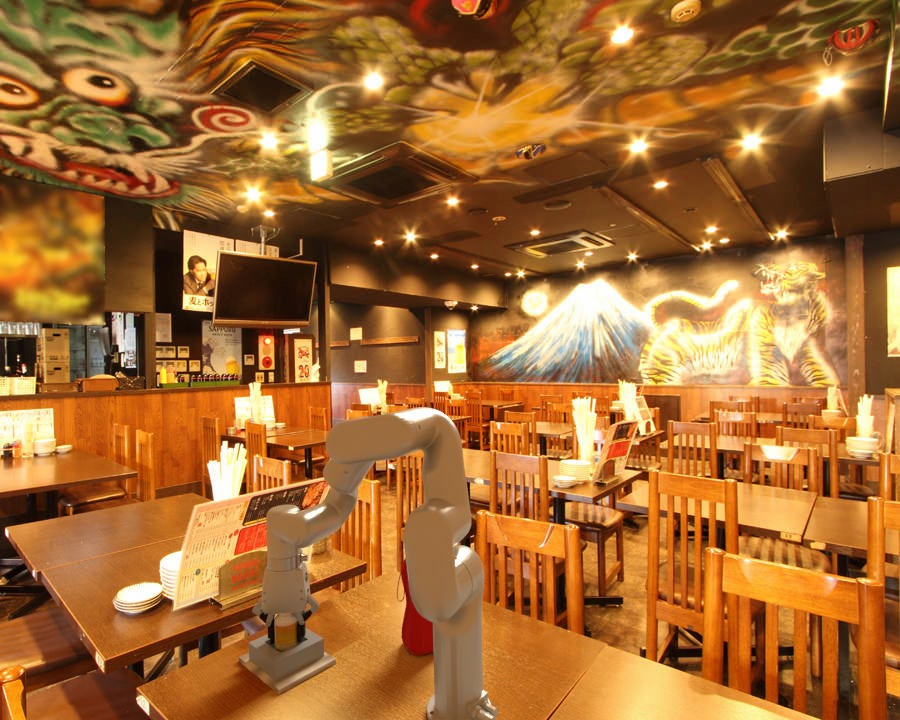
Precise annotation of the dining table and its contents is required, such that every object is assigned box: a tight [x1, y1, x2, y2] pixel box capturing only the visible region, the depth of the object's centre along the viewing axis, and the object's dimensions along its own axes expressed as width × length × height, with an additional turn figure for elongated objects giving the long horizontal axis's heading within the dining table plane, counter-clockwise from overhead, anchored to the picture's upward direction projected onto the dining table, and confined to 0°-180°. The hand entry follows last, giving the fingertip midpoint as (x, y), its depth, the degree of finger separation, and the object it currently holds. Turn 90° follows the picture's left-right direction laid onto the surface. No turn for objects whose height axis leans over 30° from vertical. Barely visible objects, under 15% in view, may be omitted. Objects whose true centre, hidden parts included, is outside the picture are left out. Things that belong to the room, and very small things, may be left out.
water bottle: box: [396, 557, 433, 657], centre depth 121 cm, size 9×11×25 cm
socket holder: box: [248, 627, 325, 681], centre depth 116 cm, size 12×12×4 cm
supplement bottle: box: [274, 613, 300, 653], centre depth 116 cm, size 5×5×10 cm
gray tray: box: [238, 651, 337, 695], centre depth 116 cm, size 18×14×1 cm
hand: (287, 639), depth 116 cm, fingers closed on supplement bottle, 5 cm apart
